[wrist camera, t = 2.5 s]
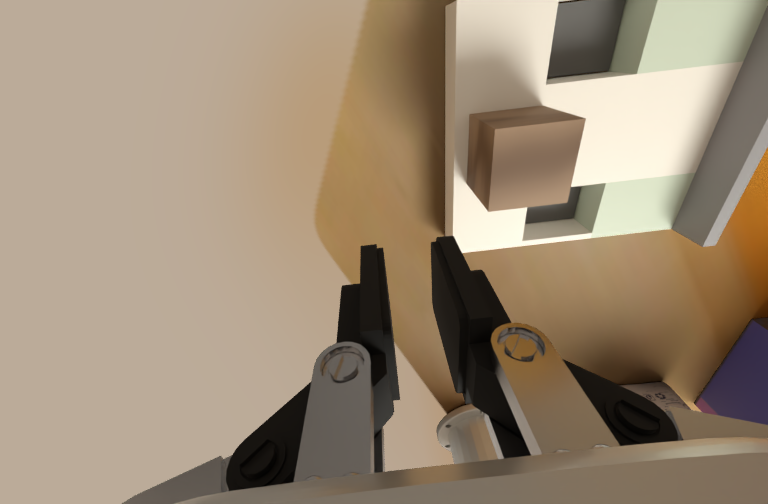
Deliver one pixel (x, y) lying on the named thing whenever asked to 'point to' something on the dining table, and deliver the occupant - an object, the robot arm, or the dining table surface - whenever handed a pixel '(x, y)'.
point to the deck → (613, 111)
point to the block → (522, 156)
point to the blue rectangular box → (741, 378)
